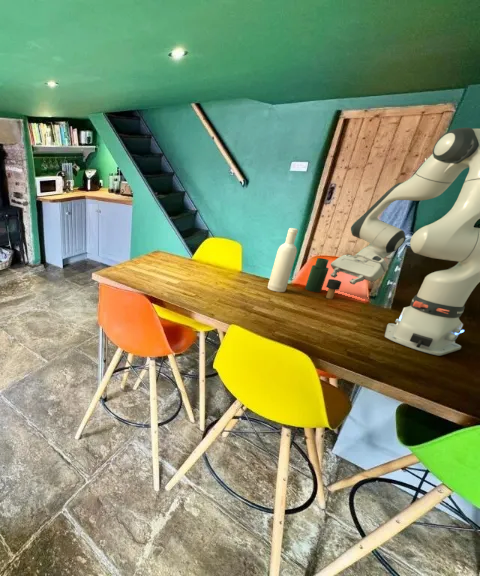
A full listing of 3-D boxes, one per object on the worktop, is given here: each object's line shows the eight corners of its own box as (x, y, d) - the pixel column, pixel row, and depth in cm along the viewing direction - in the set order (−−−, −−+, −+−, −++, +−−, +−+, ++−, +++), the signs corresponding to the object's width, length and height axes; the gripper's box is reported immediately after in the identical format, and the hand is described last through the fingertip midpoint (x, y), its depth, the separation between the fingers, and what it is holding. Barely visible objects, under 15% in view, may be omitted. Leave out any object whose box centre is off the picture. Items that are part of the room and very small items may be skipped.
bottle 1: (286, 293, 143) (305, 230, 133) (267, 290, 146) (284, 228, 136) (284, 288, 150) (302, 228, 140) (266, 285, 153) (282, 226, 143)
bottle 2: (317, 293, 147) (327, 261, 141) (302, 288, 152) (312, 258, 146) (323, 291, 150) (333, 260, 145) (308, 287, 155) (318, 257, 150)
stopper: (332, 300, 138) (339, 283, 135) (321, 296, 142) (326, 279, 139) (337, 298, 141) (343, 281, 138) (325, 295, 144) (331, 278, 141)
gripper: (343, 249, 146) (319, 268, 147) (388, 260, 127) (361, 282, 128) (347, 258, 148) (324, 277, 150) (392, 270, 129) (365, 292, 131)
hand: (341, 279), depth 139 cm, fingers open, 8 cm apart
